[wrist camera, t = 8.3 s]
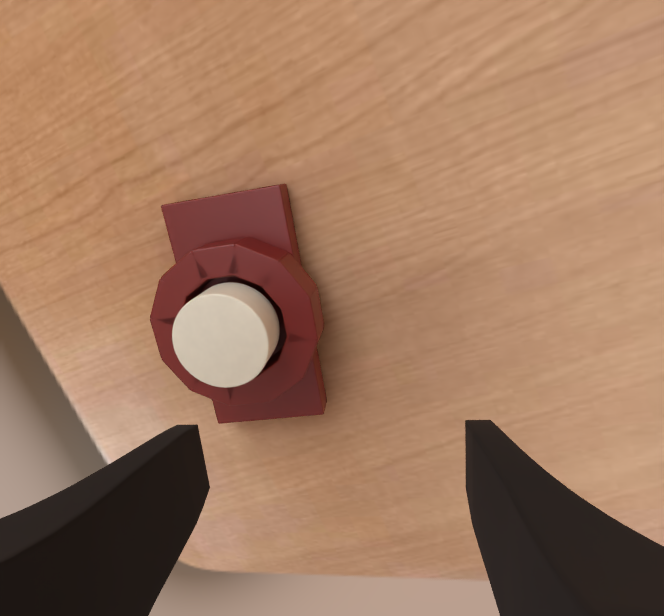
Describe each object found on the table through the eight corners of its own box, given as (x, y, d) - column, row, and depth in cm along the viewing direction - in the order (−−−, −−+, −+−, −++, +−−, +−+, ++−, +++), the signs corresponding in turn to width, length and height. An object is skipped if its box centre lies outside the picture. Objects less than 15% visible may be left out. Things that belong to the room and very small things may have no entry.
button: (288, 363, 18) (278, 383, 16) (203, 372, 19) (185, 392, 17) (270, 276, 17) (257, 287, 15) (181, 288, 18) (159, 301, 16)
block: (343, 400, 21) (335, 436, 18) (212, 412, 22) (186, 448, 19) (304, 180, 18) (288, 182, 16) (157, 206, 20) (117, 212, 17)
